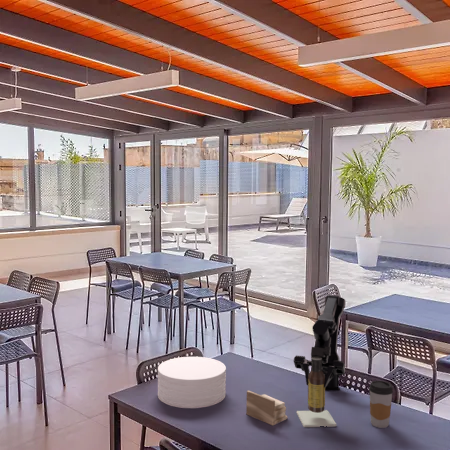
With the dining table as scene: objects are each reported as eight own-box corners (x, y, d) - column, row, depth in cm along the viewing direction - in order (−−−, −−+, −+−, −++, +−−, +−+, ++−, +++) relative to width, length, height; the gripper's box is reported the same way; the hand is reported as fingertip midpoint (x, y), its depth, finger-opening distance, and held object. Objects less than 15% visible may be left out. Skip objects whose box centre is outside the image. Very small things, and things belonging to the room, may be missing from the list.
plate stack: (185, 414, 199) (185, 385, 198) (144, 392, 220) (144, 365, 219) (239, 396, 217) (239, 369, 216) (197, 377, 238) (197, 352, 237)
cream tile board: (327, 412, 202) (327, 410, 202) (336, 426, 190) (336, 424, 190) (296, 413, 201) (296, 410, 201) (303, 427, 189) (303, 425, 189)
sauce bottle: (314, 404, 200) (315, 353, 199) (328, 409, 196) (329, 357, 194) (304, 409, 196) (305, 357, 194) (317, 415, 191) (319, 361, 190)
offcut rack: (261, 407, 206) (262, 385, 205) (287, 418, 196) (288, 394, 196) (246, 414, 199) (246, 391, 199) (272, 425, 190) (273, 401, 190)
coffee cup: (392, 421, 195) (393, 381, 194) (391, 431, 187) (392, 390, 186) (368, 417, 198) (370, 378, 197) (367, 427, 190) (368, 386, 189)
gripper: (295, 334, 201) (287, 372, 191) (344, 340, 194) (339, 379, 185) (299, 348, 209) (292, 386, 199) (347, 354, 202) (342, 393, 193)
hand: (315, 385), depth 194 cm, fingers closed on sauce bottle, 6 cm apart
